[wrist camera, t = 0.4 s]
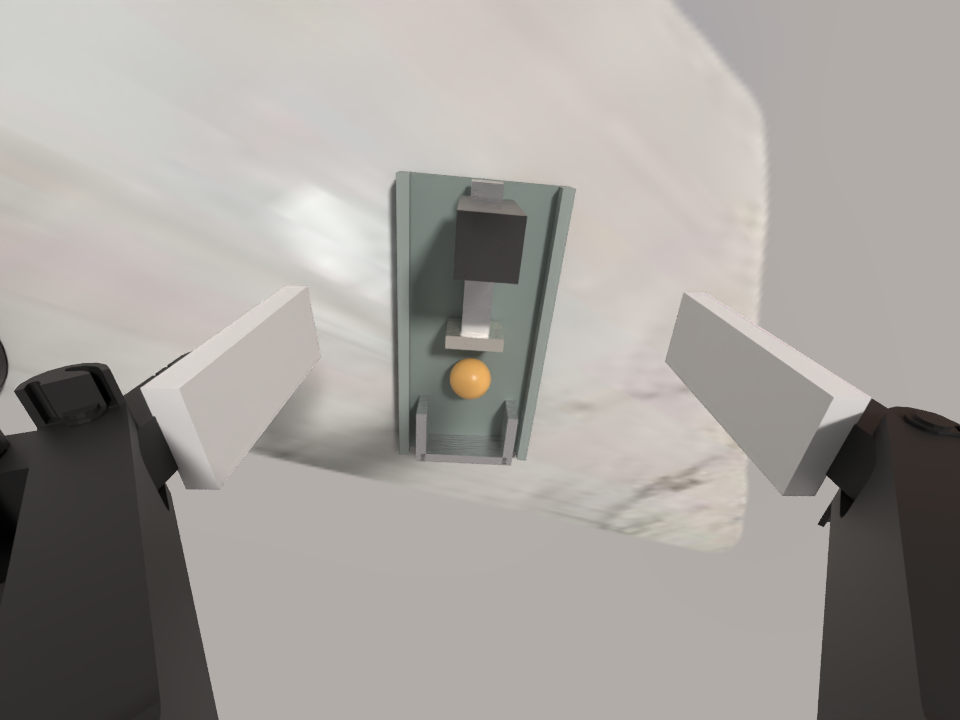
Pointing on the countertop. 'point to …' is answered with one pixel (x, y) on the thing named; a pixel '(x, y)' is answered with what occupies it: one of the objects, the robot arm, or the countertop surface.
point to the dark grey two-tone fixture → (484, 262)
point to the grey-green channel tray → (438, 297)
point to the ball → (470, 378)
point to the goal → (465, 440)
